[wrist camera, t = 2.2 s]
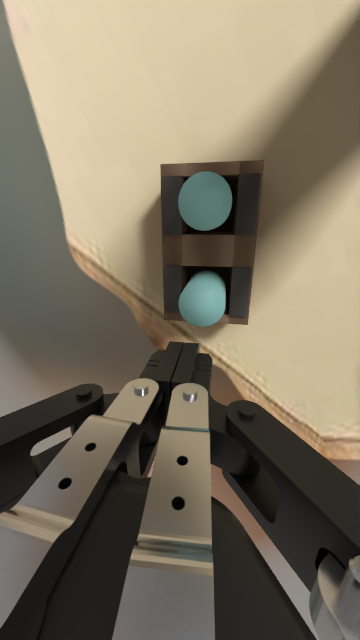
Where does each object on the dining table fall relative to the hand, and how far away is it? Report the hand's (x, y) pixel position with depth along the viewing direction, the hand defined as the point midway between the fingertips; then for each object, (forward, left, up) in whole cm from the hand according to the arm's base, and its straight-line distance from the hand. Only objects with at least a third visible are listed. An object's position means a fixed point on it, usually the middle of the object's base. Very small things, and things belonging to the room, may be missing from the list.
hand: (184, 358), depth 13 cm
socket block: (0, -4, -20) cm, 21 cm away
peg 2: (0, 0, -15) cm, 15 cm away
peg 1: (0, -8, -15) cm, 17 cm away
